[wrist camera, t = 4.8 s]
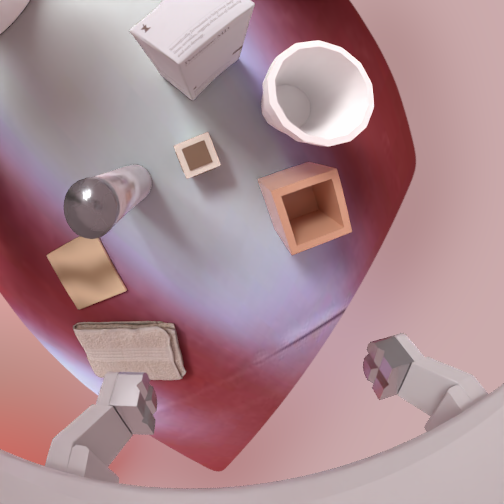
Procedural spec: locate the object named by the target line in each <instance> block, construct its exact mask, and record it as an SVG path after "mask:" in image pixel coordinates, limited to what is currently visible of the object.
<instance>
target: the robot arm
mask: <svg viewBox="0 0 504 504" xmlns="http://www.w3.org/2000/svg"><path fill="white" fill-rule="evenodd" d="M29 1H30V0H0V34H1V33H2V32H3V31H4V30H6V29H7V28H8V27H9V26H10V25H11V24H12V23H13V22H14V21H15V19H16V18H17V17H18V16H19V15H20V14H21V12H22V11H23V10H24V8H25V7H26V5H27V4H28V2H29ZM367 351H368V352H369V354H368V355H367V356H366V357H365V358H364V362H363V369H364V374H365V376H366V378H367V380H368V381H370V382H372V383H373V387H372V388H373V390H374V392H375V393H376V395H377V397H378V399H379V400H381V399H385V398H388V397H391V396H394V395H397V394H398V396H400V397H401V398H403V399H404V400H406V401H407V402H409V403H410V404H412V405H414V406H415V407H417V408H418V409H420V410H422V411H423V412H425V413H427V414H428V415H430V416H431V417H430V419H429V420H428V422H427V423H426V425H425V429H426V431H427V432H426V433H424V434H422V435H420V436H418V437H416V438H414V439H411V440H409V441H407V442H405V443H403V444H400V445H398V446H396V447H393V448H391V449H389V450H386V451H384V452H381V453H379V454H376V455H373V456H371V457H368V458H365V459H362V460H359V461H356V462H353V463H350V464H347V465H344V466H340V467H337V468H334V469H330V470H327V471H323V472H319V473H315V474H311V475H306V476H302V477H297V478H292V479H287V480H282V481H276V482H270V483H262V484H255V485H247V486H236V487H223V488H198V489H180V488H158V487H145V486H135V485H126V484H119V483H118V482H119V478H118V476H117V475H116V474H115V473H114V472H112V471H111V470H110V469H109V468H108V466H109V464H111V462H112V461H113V460H114V458H115V457H116V456H117V455H118V453H119V452H120V451H121V450H122V448H123V447H124V446H125V444H126V443H127V442H128V441H129V439H130V438H131V437H132V434H145V435H146V434H147V435H154V428H155V419H154V417H153V414H154V413H155V412H156V410H157V397H156V393H155V390H154V388H153V386H151V385H150V384H149V381H150V379H149V376H148V374H147V373H145V372H111V371H108V372H107V373H106V374H105V376H104V379H103V383H102V386H101V389H100V392H99V395H98V399H97V402H96V405H94V404H92V405H91V406H90V407H89V408H88V409H86V410H85V411H84V412H83V413H82V414H81V415H80V416H78V417H77V418H76V419H75V420H74V421H73V422H71V423H70V424H69V425H68V426H67V427H66V428H65V429H64V430H62V431H61V432H60V433H59V434H58V435H56V436H55V437H54V438H53V440H52V443H51V446H50V450H49V453H48V457H47V460H46V464H45V466H42V465H39V464H36V463H33V462H31V461H28V460H25V459H22V458H20V457H17V456H15V455H12V454H10V453H8V452H5V451H3V450H1V449H0V504H504V383H503V384H502V385H501V386H500V387H498V388H497V389H496V390H494V391H493V392H491V393H490V394H488V393H487V392H486V390H485V389H484V388H483V387H482V386H481V384H480V383H479V382H478V381H477V380H476V378H475V377H474V376H473V375H472V374H469V373H467V372H464V371H462V370H459V369H457V368H454V367H451V366H449V365H447V364H444V363H442V362H439V361H437V360H434V359H432V358H430V357H424V356H423V355H422V353H421V352H420V351H419V350H418V348H417V347H416V346H415V345H414V344H413V343H412V341H411V340H410V339H409V338H408V337H407V335H406V334H404V333H400V334H397V335H394V336H390V337H387V338H384V339H379V340H376V341H373V342H370V343H369V344H368V347H367Z"/></svg>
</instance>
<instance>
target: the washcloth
mask: <svg viewBox="0 0 504 504" xmlns="http://www.w3.org/2000/svg"><path fill="white" fill-rule="evenodd" d="M73 330H74V333H75V335H76V337H77V339H78V340H79V342H80V344H81V346H83V348H84V351H85V352H86V354H87V359H88V360H89V363H90V365H91V367H92V369H93V371H94V373H95V374H96V375H97V376H98V377H101V378H102V377H104V376H105V374H106V373H107V372H108V371H111V372H145V373H147V374H148V376H149V379H150V380H179V379H182V378H183V376H184V375H185V374H186V371H185V368H184V366H183V358H182V354H181V351H180V348H179V343H178V338H177V333H176V330H175V326H174V324H172V323H164V322H161V321H158V322H156V321H131V322H80V323H76V324H75V325H74V326H73Z"/></svg>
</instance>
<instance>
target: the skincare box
mask: <svg viewBox="0 0 504 504" xmlns="http://www.w3.org/2000/svg"><path fill="white" fill-rule="evenodd" d="M254 6H255V3H253V2H252V1H251V0H163V1H162V2H161V3H160V5H159V6H158V7H157V8H155V9H154V10H153V11H152V12H151V13H149V14H148V15H147V16H146V17H145V18H143V19H142V20H141V21H140V22H138V23H137V24H136V25H135V26H133V27H132V28H131V29H130V30H129V32H130V33H131V34H132V35H133V36H134V38H135V39H136V40H137V42H138V43H139V44H140V46H141V47H142V49H143V50H144V52H145V53H146V54H147V56H148V57H149V58H150V60H151V61H152V63H153V64H154V66H155V67H156V68H157V70H158V71H159V73H160V74H161V76H163V77H164V78H165V79H166V80H168V81H169V82H170V83H171V84H172V85H174V86H175V87H176V88H177V89H179V90H180V91H181V92H182V93H183V94H185V95H186V96H187V97H188V98H189V99H191V100H192V101H193V100H195V99H196V98H197V97H198V95H199V94H200V93H201V92H202V91H203V90H204V89H205V88H206V87H207V86H208V85H209V84H210V83H211V82H212V81H213V80H214V79H215V78H216V77H217V76H219V75H220V74H221V73H222V72H223V71H224V70H226V69H227V68H228V67H229V66H231V65H232V64H233V63H235V62H236V61H237V60H238V59H239V57H240V53H241V50H242V46H243V43H244V39H245V36H246V32H247V28H248V25H249V21H250V18H251V15H252V12H253V9H254Z"/></svg>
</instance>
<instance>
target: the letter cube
mask: <svg viewBox="0 0 504 504" xmlns="http://www.w3.org/2000/svg"><path fill="white" fill-rule="evenodd" d="M174 149H175V151H176V155H177V157H178V160H179V162H180V165H181V167H182V170H183V172H184V173H185V176H186V178H187V179H188V178H191V177H195V176H198V175H200V174H203V173H205V172H208V171H210V170H213V169H215V168H216V167H218V166H221V163H220V160H219V158H218V155H217V153H216V150H215V147H214V145H213V142H212V140H211V137H210V134H209V132H206V133H204V134H201V135H199V136H196V137H194V138H191V139H189V140H186V141H184V142H182V143H179V144H177V145H175V146H174Z"/></svg>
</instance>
